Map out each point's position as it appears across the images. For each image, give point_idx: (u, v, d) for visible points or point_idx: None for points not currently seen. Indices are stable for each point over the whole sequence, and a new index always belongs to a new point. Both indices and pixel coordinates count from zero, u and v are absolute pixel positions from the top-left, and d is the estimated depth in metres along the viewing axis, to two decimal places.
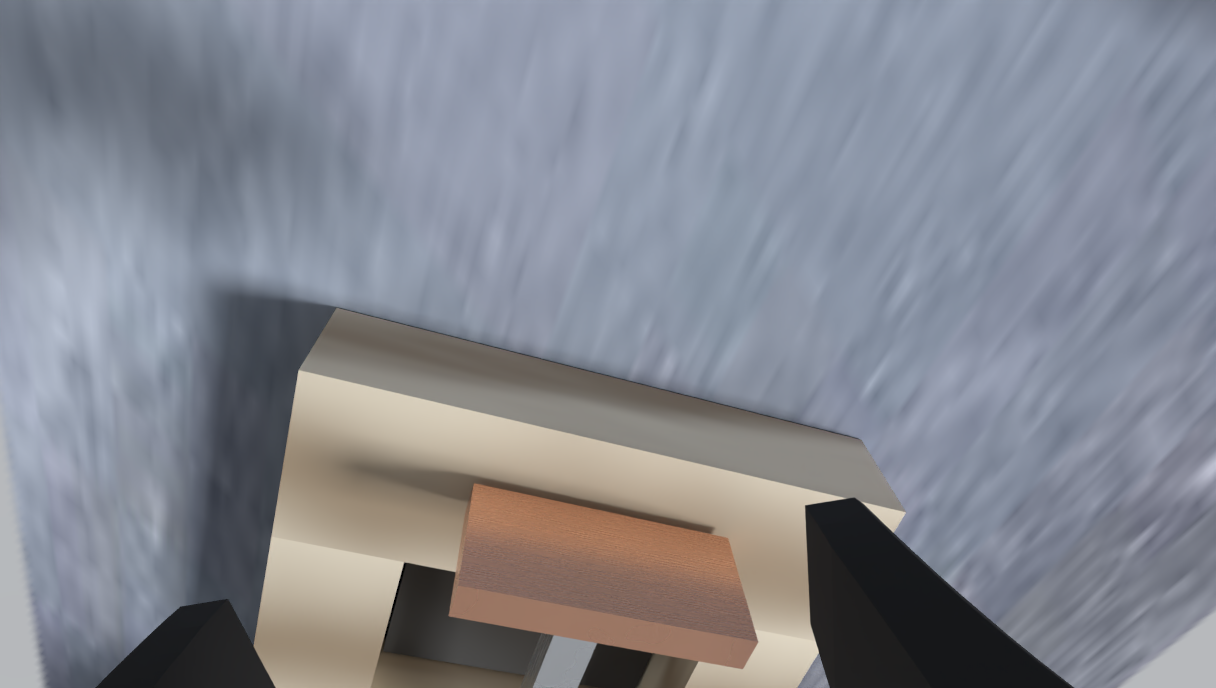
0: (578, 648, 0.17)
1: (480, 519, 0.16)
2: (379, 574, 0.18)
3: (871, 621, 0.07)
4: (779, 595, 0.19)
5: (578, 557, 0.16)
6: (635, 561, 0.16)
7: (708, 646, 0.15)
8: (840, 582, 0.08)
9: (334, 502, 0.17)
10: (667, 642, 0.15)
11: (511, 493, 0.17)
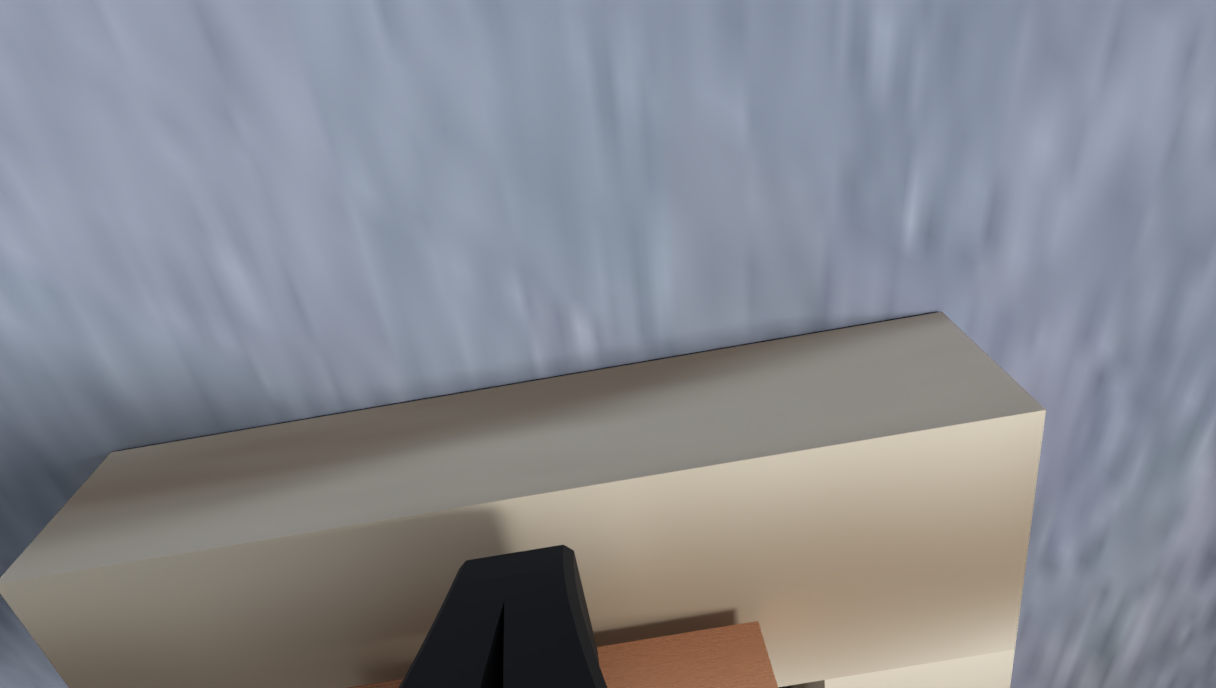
0: None
1: None
2: None
3: None
4: (897, 611, 0.11)
5: None
6: None
7: None
8: None
9: None
10: None
11: None
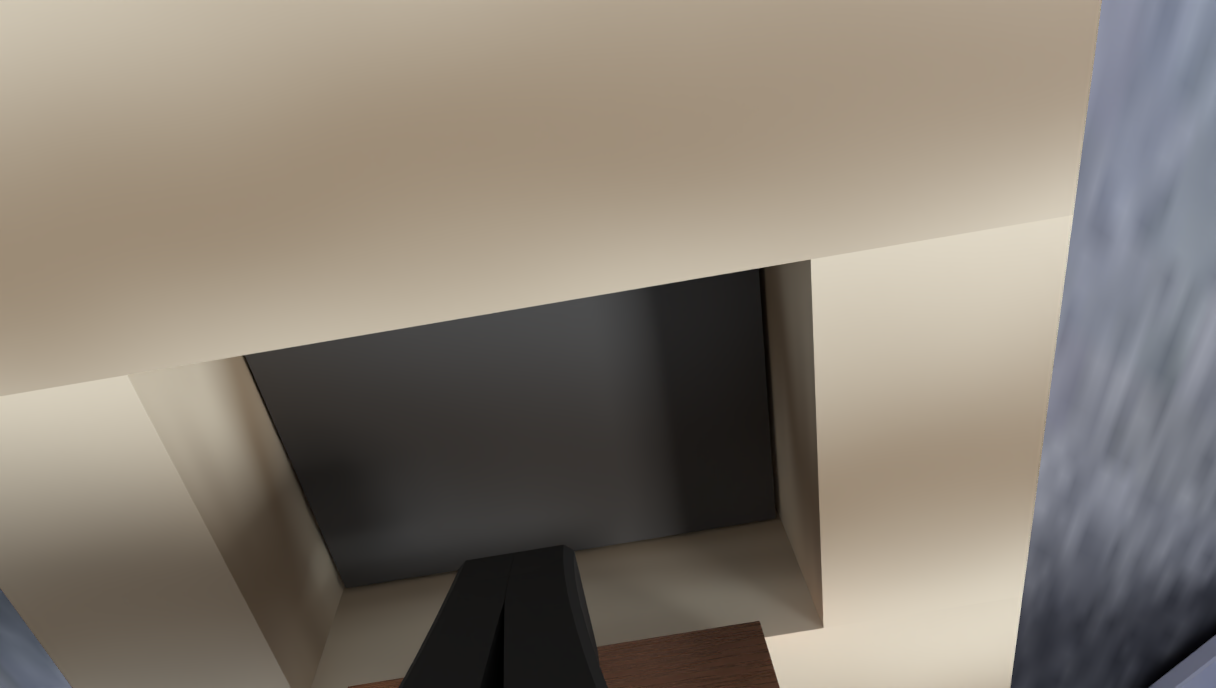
0: None
1: None
2: (107, 417, 0.09)
3: None
4: (912, 132, 0.08)
5: None
6: None
7: None
8: None
9: None
10: None
11: None
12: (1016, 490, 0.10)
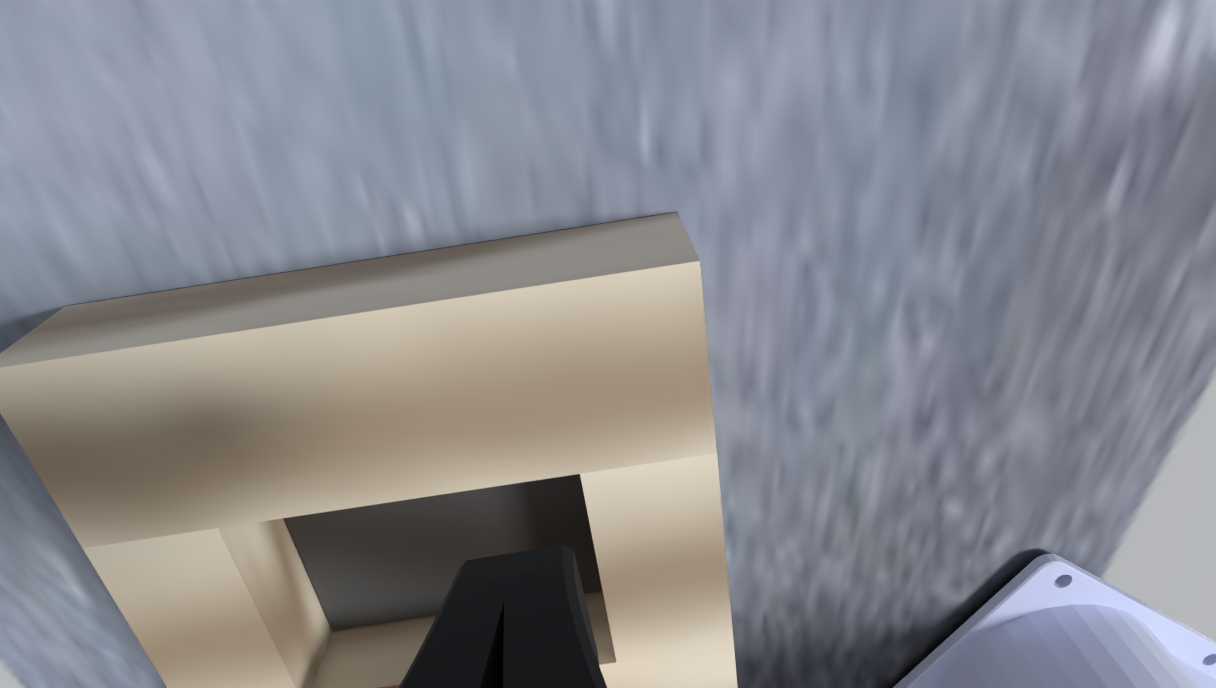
0: None
1: None
2: (204, 548, 0.17)
3: None
4: (624, 417, 0.16)
5: None
6: None
7: None
8: None
9: (109, 492, 0.16)
10: None
11: None
12: (716, 587, 0.18)
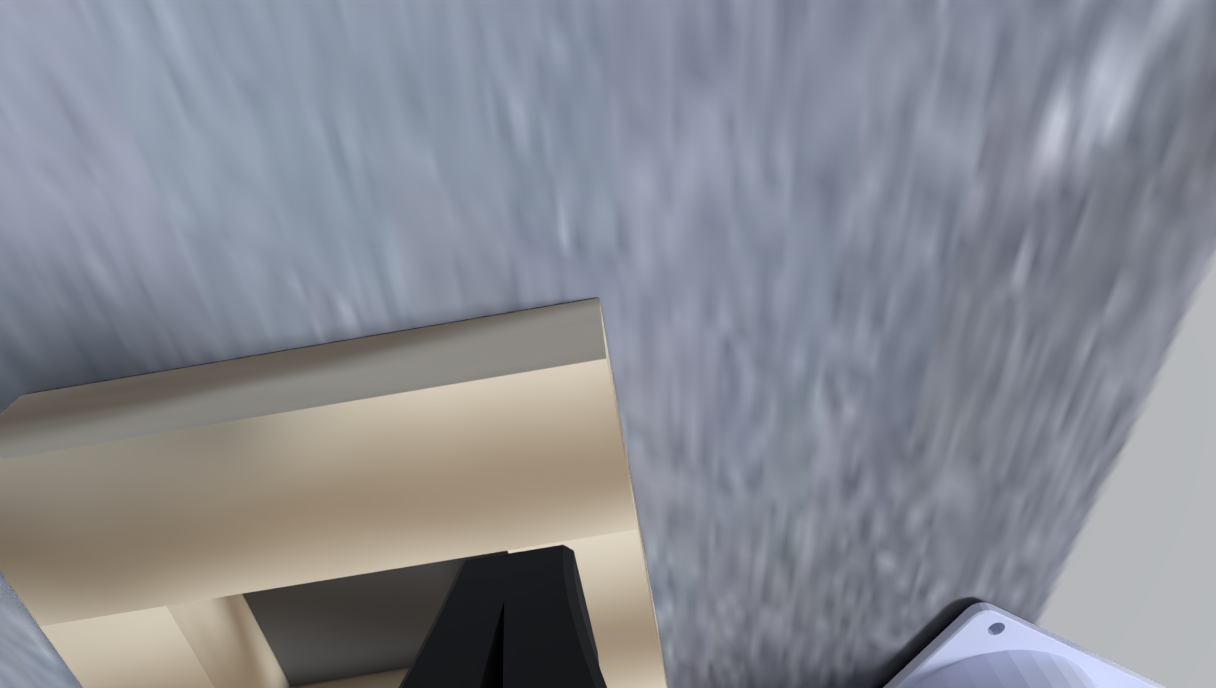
0: None
1: None
2: (155, 624, 0.18)
3: None
4: (546, 499, 0.17)
5: None
6: None
7: None
8: None
9: (61, 575, 0.17)
10: None
11: None
12: (647, 649, 0.19)
